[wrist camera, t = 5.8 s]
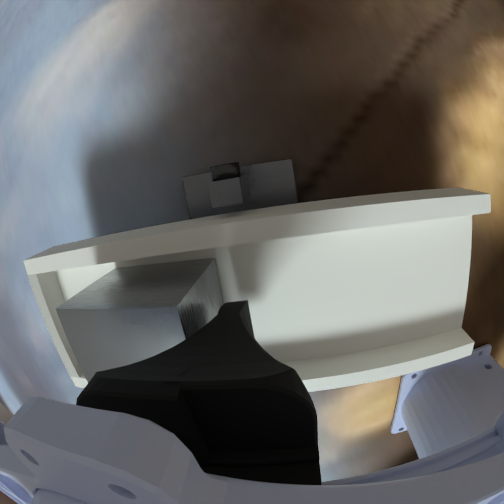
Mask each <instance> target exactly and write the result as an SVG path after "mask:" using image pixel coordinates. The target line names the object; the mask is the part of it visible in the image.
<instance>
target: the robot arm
mask: <svg viewBox="0 0 504 504" xmlns="http://www.w3.org/2000/svg"><path fill="white" fill-rule="evenodd" d="M491 349H492V346H491V345H490V344H486V345H484V346H481V347H479V348H476V349H473V350H472V354H471V355H469V356H466V357H463V358H460V359H457V360H454V361H451V362H448V363H445V364H442V365H438V366H435V367H431V368H428V369H424V370H421V371H417V372H413V373H409V374H405V375H402V377H401V383H400V389H399V394H398V399H397V404H396V408H395V413H394V417H393V421H392V425H391V429H390V430H391V433H393V434H395V433H399V432H402V431H406V430H408V432H409V435H410V437H411V440H412V442H413V445H414V447H415V450H416V452H417V455H418V457H419V459H418V460H415V461H412V462H409V463H406V464H402V465H399V466H396V467H392V468H388V469H385V470H381V471H377V472H373V473H369V474H364V475H360V476H355V477H350V478H344V479H339V480H333V481H326V482H321V474H320V465H319V450H318V432H317V414H316V410H315V407H314V404H313V401H312V399H311V397H310V395H309V393H308V391H307V389H306V387H305V385H304V383H303V382H302V380H301V378H300V377H299V375H298V373H297V372H296V370H295V369H293V368H292V367H289V366H287V365H285V364H283V363H281V362H279V361H277V360H276V359H274V358H273V357H272V356H271V355H270V354H269V353H267V352H266V351H265V350H264V349H263V348H262V347H261V346H260V344H259V343H258V342H257V341H256V339H255V337H254V332H253V327H252V321H251V316H250V310H249V305H248V300H244V301H235V302H226V303H224V304H223V305H222V306H221V307H220V309H219V311H218V314H217V315H216V316H215V317H214V318H213V319H212V320H211V321H210V322H208V323H207V324H206V325H205V326H203V327H202V328H201V329H200V330H198V331H197V332H196V333H194V334H193V335H192V336H190V337H189V338H187V339H186V340H184V341H182V342H181V343H179V344H177V345H175V346H174V347H172V348H170V349H168V350H165V351H163V352H161V353H159V354H157V355H155V356H152V357H150V358H147V359H145V360H142V361H139V362H136V363H133V364H129V365H126V366H122V367H118V368H113V369H109V370H104V371H98V372H96V373H95V375H94V376H93V377H92V379H91V380H90V381H89V383H88V384H87V385H86V387H85V388H84V390H83V391H82V392H81V394H80V395H79V396H78V398H77V403H76V405H73V404H68V403H64V402H59V401H55V400H51V399H47V398H43V397H33V398H28V400H27V401H26V402H25V403H24V404H23V405H22V407H21V408H20V409H19V410H18V411H17V412H16V414H15V415H14V416H13V417H12V419H10V421H9V422H8V423H7V424H6V426H5V424H4V423H3V422H2V421H1V420H0V490H1V491H2V492H4V493H5V494H6V495H7V496H9V497H10V498H12V499H13V500H14V501H16V502H17V503H19V504H504V369H503V368H502V367H501V366H500V365H499V364H498V362H497V361H496V360H495V359H494V358H493V357H492V356H491V355H490V353H491ZM413 374H414V375H413Z"/></svg>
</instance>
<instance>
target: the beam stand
mask: <svg viewBox="0 0 504 504" xmlns="http://www.w3.org/2000/svg"><path fill="white" fill-rule="evenodd" d="M210 169H211V172H208V173H203V174H198V175H193V176H188V177H183V184H184V189H185V195H186V200H187V205H188V211H189V216H190V219H196V218H202V217H208V216H214V215H220V214H227V213H233V212H240V211H246V210H253V209H260V208H267V207H274V206H281V205H288V204H296V203H298V200H297V193H296V186H295V179H294V172H293V166H292V159H288V160H281V161H274V162H267V163H260V164H254V165H248V166H241V167H240V165H239V162H236V163H229V164H223V165H218V166H213V167H210Z"/></svg>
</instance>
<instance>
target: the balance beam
mask: <svg viewBox="0 0 504 504" xmlns="http://www.w3.org/2000/svg"><path fill="white" fill-rule="evenodd" d="M485 213H491V201H490V194H488V193H484V192H479V191H474V190H469V189H464V188H459V187H457V188H442V189H429V190H416V191H405V192H394V193H383V194H373V195H363V196H354V197H345V198H336V199H328V200H320V201H312V202H304V203H296V204H288V205H281V206H274V207H267V208H260V209H253V210H246V211H240V212H233V213H227V214H220V215H214V216H208V217H202V218H196V219H190V220H184V221H178V222H173V223H167V224H162V225H156V226H151V227H145V228H140V229H135V230H130V231H125V232H120V233H115V234H110V235H105V236H100V237H95V238H90V239H86V240H81V241H76V242H72V243H67V244H63V245H58V246H54V247H52V248H49V249H47V250H45V251H43V252H41V253H39V254H36V255H34V256H32V257H30V258H28V259H26V260H24V264H25V267H26V271H27V274H28V277H29V280H30V283H31V286H32V289H33V292H34V295H35V298H36V301H37V303H38V306H39V309H40V311H41V314H42V316H43V319H44V321H45V324H46V326H47V328H48V331H49V333H50V335H51V338H52V340H53V342H54V344H55V346H56V349H57V351H58V353H59V355H60V357H61V359H62V361H63V363H64V365H65V367H66V369H67V371H68V373H69V375H70V377H71V378H72V380H73V382H74V384H75V386H76V387H81V388H85V387H86V385H87V384H88V382H87V380H86V378H85V376H84V374H83V372H82V370H81V368H80V366H79V364H78V362H77V359H76V357H75V355H74V353H73V351H72V348H71V346H70V344H69V342H68V339H67V337H66V334H65V332H64V329H63V327H62V324H61V322H60V319H59V317H58V314H57V311H56V308H57V307H58V306H60V305H61V304H63V303H64V302H65V301H67V300H68V299H70V298H71V297H73V296H74V295H76V294H77V293H79V292H80V291H81V290H83V289H84V288H86V287H87V286H89V285H90V284H92V283H93V282H95V281H96V280H98V279H99V278H101V277H102V276H104V275H106V274H107V273H109V272H110V271H112V270H113V269H115V268H119V267H129V266H139V265H149V264H158V263H168V262H178V261H188V260H197V259H207V258H215V259H216V264H217V270H218V275H219V280H220V286H221V291H222V296H223V301H224V303H226V302H235V301H244V300H248V305H249V310H250V316H251V321H252V327H253V332H254V337H255V339H256V341H257V342H258V343H259V344H260V346H261V347H262V348H263V349H264V350H265V351H266V352H267V353H269V354H270V355H271V356H272V357H273V358H274V359H276V360H277V361H279V362H281V363H283V364H285V365H287V366H289V367H292V368H293V369H295V370H296V372H297V373H298V375H299V377H300V378H301V380H302V382H303V383H304V385H305V387H306V389H307V391H308V392H313V391H320V390H328V389H334V388H341V387H347V386H353V385H358V384H364V383H369V382H374V381H379V380H383V379H388V378H392V377H397V376H401V375H405V374H409V373H413V372H417V371H421V370H424V369H428V368H431V367H435V366H438V365H442V364H445V363H448V362H451V361H454V360H457V359H460V358H463V357H466V356H469V355H471V354H472V350H473V347H474V343H475V342H474V341H473V340H472V339H471V338H470V336H469V335H468V334H467V333H466V332H465V331H464V330H463V329H462V322H463V317H464V311H465V304H466V297H467V290H468V281H469V271H470V259H471V242H472V215H476V214H485Z"/></svg>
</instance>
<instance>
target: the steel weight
mask: <svg viewBox="0 0 504 504" xmlns="http://www.w3.org/2000/svg"><path fill="white" fill-rule="evenodd" d="M223 304H224V301H223V296H222V291H221V286H220V280H219V275H218V270H217V264H216V259H215V258H207V259H197V260H188V261H178V262H168V263H158V264H149V265H139V266H129V267H119V268H115V269H113V270H112V271H110V272H109V273H107V274H106V275H104V276H102V277H101V278H99V279H98V280H96V281H95V282H93V283H92V284H90V285H89V286H87V287H86V288H84V289H83V290H81V291H80V292H79V293H77V294H76V295H74V296H73V297H71V298H70V299H68V300H67V301H65V302H64V303H63V304H61V305H60V306H58V307H57V308H56V311H57V314H58V317H59V319H60V322H61V324H62V327H63V329H64V332H65V334H66V337H67V339H68V342H69V344H70V346H71V348H72V351H73V353H74V355H75V357H76V359H77V362H78V364H79V366H80V368H81V370H82V372H83V374H84V376H85V378H86V380H87V382H88V383H89V381H90V380H91V379H92V377H93V376H94V375H95V373H96V372H98V371H104V370H109V369H113V368H118V367H122V366H126V365H129V364H133V363H136V362H139V361H142V360H145V359H147V358H150V357H152V356H155V355H157V354H159V353H161V352H163V351H165V350H168V349H170V348H172V347H174V346H175V345H177V344H179V343H181V342H182V341H184V340H186V339H187V338H189V337H190V336H192V335H193V334H194V333H196V332H197V331H198V330H200V329H201V328H202V327H203V326H205V325H206V324H207V323H208V322H210V321H211V320H212V319H213V318H214V317H215V316H216V315H217V314H218V311H219V309H220V307H221V306H222V305H223Z"/></svg>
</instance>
